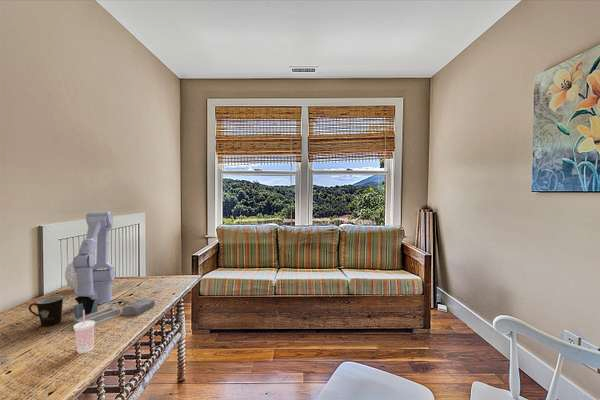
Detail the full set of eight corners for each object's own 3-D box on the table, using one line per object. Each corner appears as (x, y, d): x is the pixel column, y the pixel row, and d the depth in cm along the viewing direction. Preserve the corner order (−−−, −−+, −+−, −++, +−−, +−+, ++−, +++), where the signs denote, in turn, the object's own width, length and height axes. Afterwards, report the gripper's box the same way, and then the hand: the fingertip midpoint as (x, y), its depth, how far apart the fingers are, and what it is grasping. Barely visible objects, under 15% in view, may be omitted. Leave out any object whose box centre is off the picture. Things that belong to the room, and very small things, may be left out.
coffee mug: (69, 320, 131) (68, 297, 131) (46, 329, 123) (45, 304, 123) (50, 317, 135) (49, 294, 134) (27, 325, 127) (26, 301, 126)
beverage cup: (91, 353, 105) (89, 312, 104) (71, 355, 104) (68, 314, 103) (99, 344, 111) (97, 305, 110) (80, 346, 110) (77, 307, 109)
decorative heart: (71, 287, 175) (69, 257, 174) (93, 284, 180) (92, 255, 179) (62, 297, 159) (60, 264, 158) (87, 294, 163) (85, 261, 162)
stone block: (120, 318, 136) (139, 316, 135) (118, 308, 137) (137, 305, 135) (139, 309, 148) (157, 306, 146) (137, 299, 148) (155, 296, 146)
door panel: (75, 319, 132) (74, 305, 132) (94, 312, 139) (94, 299, 139) (77, 320, 131) (77, 306, 131) (97, 313, 139) (97, 300, 138)
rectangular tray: (73, 326, 126) (73, 319, 125) (111, 312, 139) (110, 306, 139) (83, 329, 122) (83, 322, 122) (120, 315, 136) (120, 309, 135)
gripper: (65, 282, 135) (67, 313, 135) (84, 287, 128) (85, 319, 128) (83, 278, 141) (84, 307, 141) (101, 282, 134) (103, 313, 135)
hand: (86, 312), depth 135 cm, fingers closed on door panel, 2 cm apart
